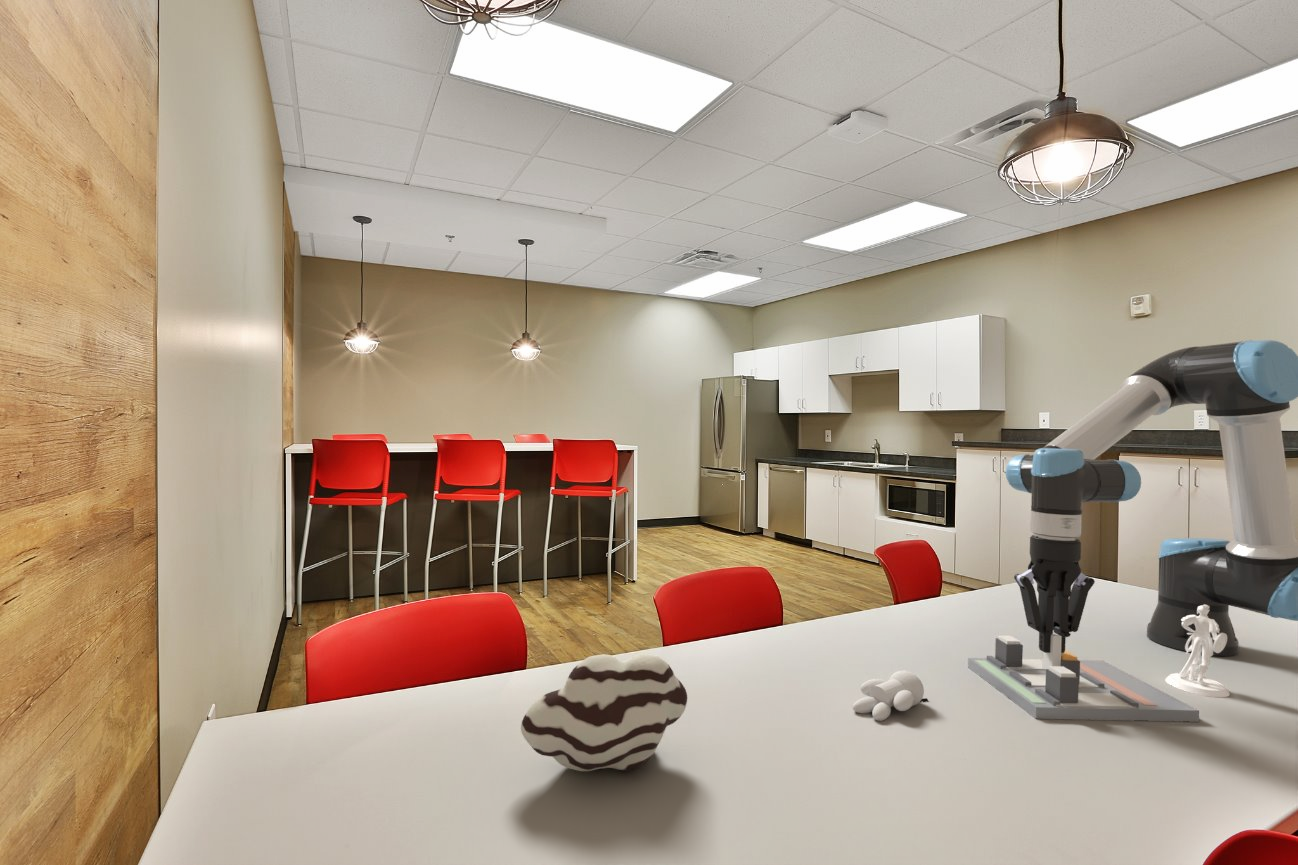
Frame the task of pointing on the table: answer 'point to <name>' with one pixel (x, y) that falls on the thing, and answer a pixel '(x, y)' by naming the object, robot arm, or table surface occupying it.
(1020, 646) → the breaker left
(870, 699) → the toy
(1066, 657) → the breaker mid
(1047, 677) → the block
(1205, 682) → the figurine
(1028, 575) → the robot arm
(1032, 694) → the panel
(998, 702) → the table surface
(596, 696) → the sculpture
